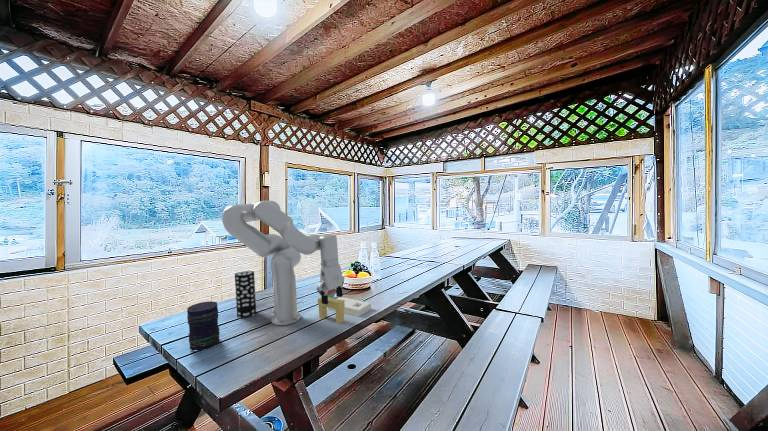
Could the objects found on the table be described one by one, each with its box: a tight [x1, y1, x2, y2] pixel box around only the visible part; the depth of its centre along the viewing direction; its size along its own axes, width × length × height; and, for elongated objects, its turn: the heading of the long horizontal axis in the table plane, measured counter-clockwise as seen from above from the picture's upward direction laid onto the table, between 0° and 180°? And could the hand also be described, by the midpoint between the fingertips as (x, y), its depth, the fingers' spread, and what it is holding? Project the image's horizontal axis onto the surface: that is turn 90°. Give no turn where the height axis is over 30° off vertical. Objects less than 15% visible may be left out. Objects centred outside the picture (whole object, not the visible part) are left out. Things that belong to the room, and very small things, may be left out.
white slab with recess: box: [327, 296, 372, 317], centre depth 139 cm, size 19×10×3 cm, turn 59°
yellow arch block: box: [317, 296, 345, 324], centre depth 128 cm, size 13×3×9 cm, turn 59°
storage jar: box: [186, 301, 221, 351], centre depth 108 cm, size 10×10×15 cm
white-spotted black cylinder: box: [234, 270, 257, 319], centre depth 135 cm, size 8×8×20 cm
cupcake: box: [324, 288, 336, 299], centre depth 152 cm, size 9×8×12 cm
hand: (332, 300), depth 127 cm, fingers open, 9 cm apart
